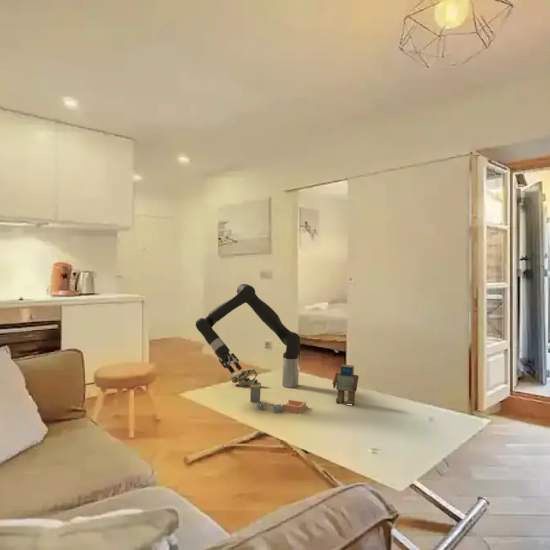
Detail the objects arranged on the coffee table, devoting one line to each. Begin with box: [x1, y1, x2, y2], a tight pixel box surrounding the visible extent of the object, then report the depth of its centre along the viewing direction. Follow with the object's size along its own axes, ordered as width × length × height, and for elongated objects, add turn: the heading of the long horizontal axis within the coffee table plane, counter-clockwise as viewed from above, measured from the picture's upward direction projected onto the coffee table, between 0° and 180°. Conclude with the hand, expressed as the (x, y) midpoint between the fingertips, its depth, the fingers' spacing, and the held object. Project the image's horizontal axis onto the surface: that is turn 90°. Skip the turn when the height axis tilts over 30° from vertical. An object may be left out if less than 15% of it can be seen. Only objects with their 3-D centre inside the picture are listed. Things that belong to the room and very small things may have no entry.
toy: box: [332, 364, 359, 404], centre depth 230 cm, size 13×10×20 cm
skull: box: [230, 368, 258, 387], centre depth 260 cm, size 10×16×10 cm, turn 88°
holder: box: [281, 399, 308, 414], centre depth 218 cm, size 11×11×3 cm
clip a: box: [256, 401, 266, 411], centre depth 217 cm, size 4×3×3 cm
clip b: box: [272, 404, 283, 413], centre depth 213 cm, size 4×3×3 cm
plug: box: [249, 379, 262, 404], centre depth 228 cm, size 4×4×12 cm
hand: (237, 371), depth 232 cm, fingers open, 8 cm apart
